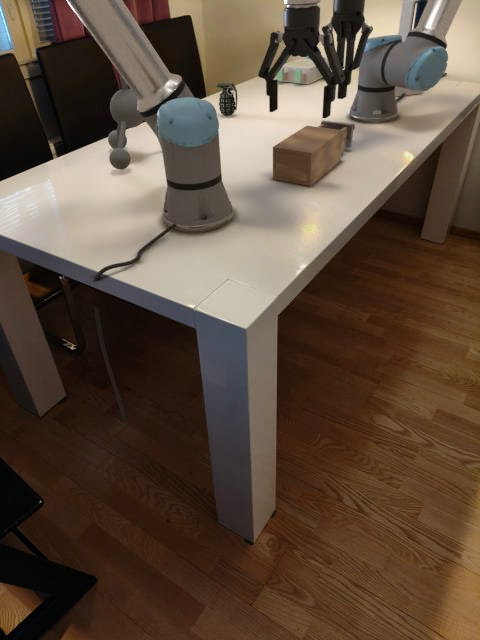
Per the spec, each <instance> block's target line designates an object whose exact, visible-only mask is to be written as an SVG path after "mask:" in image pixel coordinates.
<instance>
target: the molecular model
mask: <svg viewBox="0 0 480 640" xmlns="http://www.w3.org/2000/svg"><path fill="white" fill-rule="evenodd" d="M118 74H119V75H118V76H119V80H120V85H121V89H119V90H117V91H116V92H115V93H114V94H113V95H112V97H111V99H110V102H109V110H110V115H111V116H112V119H113V120H114V121H115V122H116V123H117V129H114V130H112V131H110V132H109V133H108V137H107V143H108V145H109V146H110V147H111V148H112V150H111V151H110V153H109V157H108V158H109V163H110V165H111V166H112V167H113V168H114V169H116V170H121V171H122V170H125V169H127V168H128V167H129V166H130V164H131V155H130V153H129V152H128V151H127V150H126V149H125V147H126V146H127V144H128V137H127V136H126V132H127V129H133V128H137V127H139V126H140V125H141V124H142V123H144V122H146V121H145V120H144V118H143V117H142V116H141V114H140V113H139V111H138V110H137V104H138V98H137V97H136V95H135V94H134V93H133V91H132V90H131V88H129V87H128V84H127V83H126V82H125V80H124V79H123V77H122V76H121V75H120V73H119V72H118Z"/></svg>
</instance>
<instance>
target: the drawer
mask: <svg viewBox="0 0 480 640" xmlns="http://www.w3.org/2000/svg"><path fill="white" fill-rule="evenodd" d="M317 127H322V128H329V129H337V130H343V137H342V150H341V152H343V151H344V150H345V149H351V148H352V147H353V136H354V131H355V129H356V124H354V123H347V122H340V121H331V120H321V121H320V125H318V126H317Z"/></svg>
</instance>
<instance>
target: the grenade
mask: <svg viewBox="0 0 480 640" xmlns="http://www.w3.org/2000/svg"><path fill="white" fill-rule="evenodd" d="M215 87H217V88H219V89H221V93H219V97H218V101H219V102H218V106H219V108H218V109H219V112H220V114H221V115H222V116H224V117H231V116H233V115H234V113H235V112H236V111H237V108H238V89H237V87H236V85H235V84H234V83H233V82H218V83H217V84H216V86H215ZM232 91H233V92H232ZM234 94H235V96H234Z"/></svg>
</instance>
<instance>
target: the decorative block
mask: <svg viewBox="0 0 480 640" xmlns="http://www.w3.org/2000/svg"><path fill="white" fill-rule="evenodd" d="M322 57H323V56H322ZM323 58H324V60H325V62H326V63H327V65H328V66H329V62H328V59H327V57H325V56H324V57H323ZM329 68H330V67H329ZM330 70H331V68H330ZM331 71H332V70H331ZM275 77H276V78H275V80H278V82H285V83H292V84H293V83H294V84H303V85H309V84H310V85H311V84H313V83H314V82H316V81H319V80H322V79H324V78H323V77H322V75H321V74H320V72H319V70H318V69H317V67H316V66H315V64H314V62H313V61H312V60H311V59H310V58H309V57H308V56H307V57H302V58H296V59H295V60H292V61H289V62H287V61H286V62H285V64H284V65H283V67H282V68H281V69H280V71H279V72H278V74H277V75H276V76H275Z"/></svg>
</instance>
